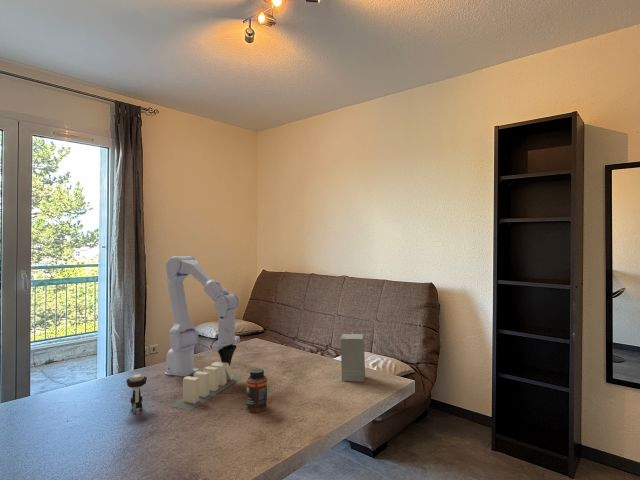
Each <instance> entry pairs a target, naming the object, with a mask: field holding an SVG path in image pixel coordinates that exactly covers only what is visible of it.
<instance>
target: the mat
mask: <svg viewBox="0 0 640 480" xmlns="http://www.w3.org/2000/svg"><path fill="white" fill-rule="evenodd" d="M233 374H234V373H233ZM244 377H245V375H242V374H237V373H235V374H234V377H233V379H232V381H231V380H227V383H226V384H225V385H224V386H222V385H218V389H217V390H216V391H210V390H209V395H208V396H206V397H201V396H199V401H198V402H197V403H189V402H183V397H182V398H180V399H178V400H177V401H174V402H173V403H172V404H170V405H169V407H171V408H176V409H182V410H187V411H192V410H194V409H196V408H197V407H198V406H200V405H201V404H203V403H206V401H208V400H209V399H211V398H213V397H214V396H215V395H217V394H219V393H220V392H222V391H223V390H225V389H227V388H228V387H230V386H231V385H233V384H235V383H236V382H237V381H239V380H241V379H243V378H244Z"/></svg>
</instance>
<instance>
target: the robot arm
mask: <svg viewBox="0 0 640 480" xmlns="http://www.w3.org/2000/svg"><path fill="white" fill-rule="evenodd" d="M199 264H200V263H199V261H198V260H197V258H195V256H193V255H187V256H185V255H183V256H182V255H181V256H176V255H173V256H170V257H169V258H168V260H166V263H165V269H166V283H167V288H168V294H169V300H170V307H171V314H172V319H173V326H172V327H171V328H170V330H169V331H168V334H169V335H168V345H169V347H170V349H169V350H168V351H167V353H166V358H165V359H166V360H165V361H166V363H165V368H166V369H165V370H166V371H165V372H164V374H165V375H168V376H175V377H176V376H179V377H187V376H190V375H191V374H194V373H195V372H197V371H200V369H199V368H195V367H194V366H195V364H194V363H195V362H194V361H195V360H194V359H195V348H196V344H198V342H199V339H200V338H199V334H198V332H197V330H196V326H195V324H194V323H192V322H190V318H189V310H188V306H187V299H186V294H185V288H184V287H185V286H184V281H185V279H186V278H187V277H188V276H190V275H191V276H192V277H193V278H194V279H196V281H198V282H199V284H201V285H202V286H203V287H204V288H203V291H204V292H205V293H206V295H207V296H208V297H209V298H210V299H211V300H212V301H213V302H214V306H215V309H216V310H217V316H218V326H217V327H218V330H217V331H218V334H217V335H218V337H217V341H216V342H215V343H214V344H212V345H211V351H212V352H217V353H218V355H219V358H220V362H224V363H228V364H229V366H230V367H231V364H232V363H231V362H232V359H233V355H234V353H235V351H236V349H237V345H236V344H237V343H239V342H240V340H241V339H240V337H241V336H239V335H238V336H237V335H236V309H237V308H238V306H239V298H238V296H237V295H236V293H233V292H230V291H229V290H228V289H226V288H225V287H224V286H223V285H222V284H221V281H220V280H216V279H212V278H211V277H210V275H208V274H207V273H206V271H205V270H204V269H203V268H202V266H200V265H199Z"/></svg>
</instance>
